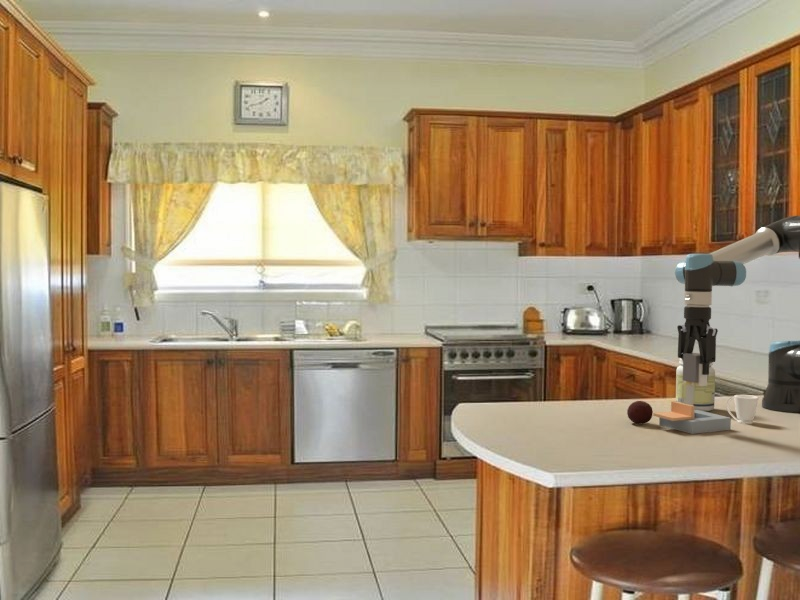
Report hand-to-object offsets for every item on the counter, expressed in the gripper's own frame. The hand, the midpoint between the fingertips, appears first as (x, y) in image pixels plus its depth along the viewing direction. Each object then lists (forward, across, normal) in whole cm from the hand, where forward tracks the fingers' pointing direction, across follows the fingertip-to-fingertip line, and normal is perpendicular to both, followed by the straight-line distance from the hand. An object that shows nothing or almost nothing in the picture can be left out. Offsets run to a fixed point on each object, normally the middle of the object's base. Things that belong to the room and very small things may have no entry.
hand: (695, 384), depth 228 cm
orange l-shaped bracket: (+9, 0, -8) cm, 12 cm away
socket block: (+13, 0, 0) cm, 13 cm away
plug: (0, 0, 0) cm, 0 cm away
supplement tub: (+13, -22, +22) cm, 34 cm away
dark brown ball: (+13, -10, -12) cm, 20 cm away
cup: (+13, -1, +20) cm, 24 cm away
